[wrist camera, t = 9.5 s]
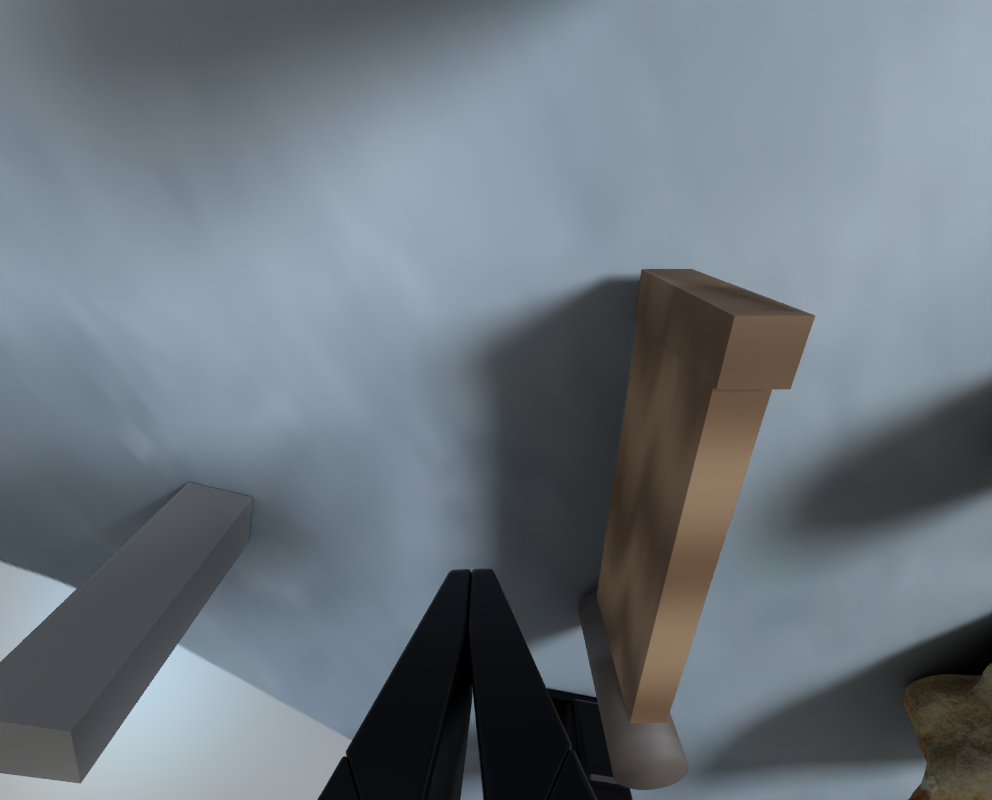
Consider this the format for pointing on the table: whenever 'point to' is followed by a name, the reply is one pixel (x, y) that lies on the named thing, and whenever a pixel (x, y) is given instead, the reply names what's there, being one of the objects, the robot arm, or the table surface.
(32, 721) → the post
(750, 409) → the gate
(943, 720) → the rough brown rock
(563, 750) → the robot arm
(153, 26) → the table surface
